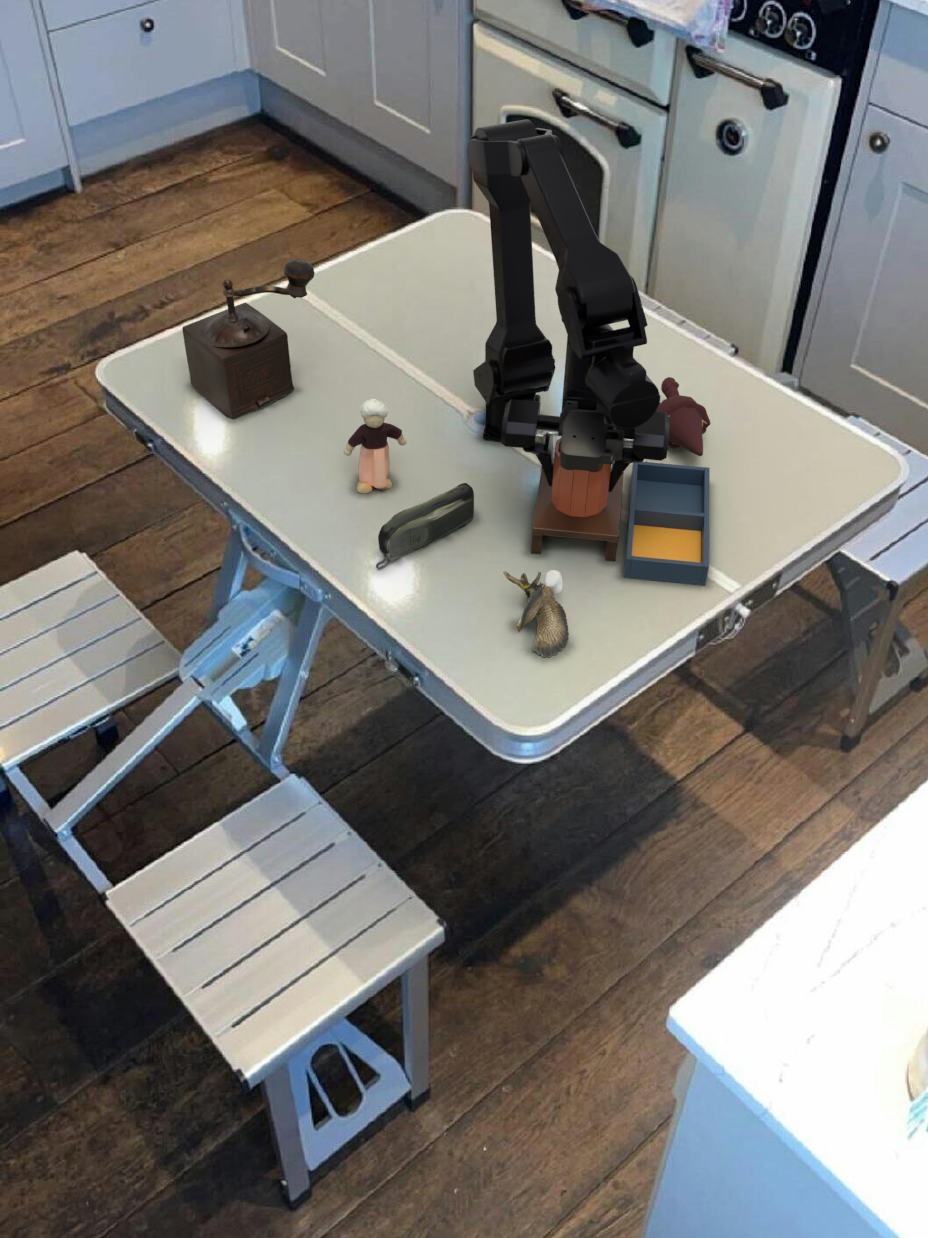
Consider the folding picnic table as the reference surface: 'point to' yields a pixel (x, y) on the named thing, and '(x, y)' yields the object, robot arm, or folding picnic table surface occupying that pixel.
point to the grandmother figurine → (374, 446)
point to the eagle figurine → (544, 612)
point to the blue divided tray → (668, 523)
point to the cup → (579, 488)
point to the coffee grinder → (243, 349)
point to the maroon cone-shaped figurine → (683, 418)
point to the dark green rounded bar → (425, 522)
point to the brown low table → (577, 520)
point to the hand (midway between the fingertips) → (580, 486)
